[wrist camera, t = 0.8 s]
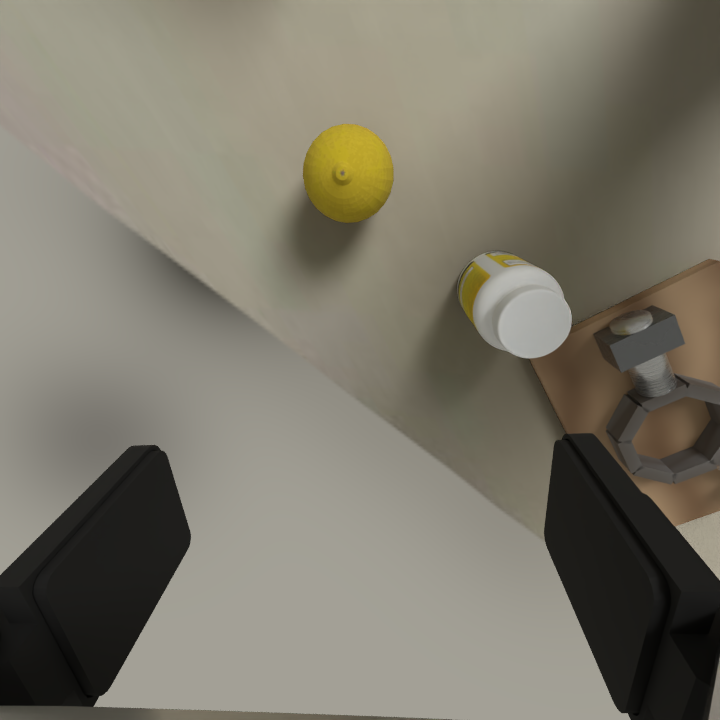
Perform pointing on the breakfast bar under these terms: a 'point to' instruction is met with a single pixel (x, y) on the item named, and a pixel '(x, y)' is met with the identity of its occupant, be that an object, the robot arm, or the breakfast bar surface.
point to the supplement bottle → (514, 304)
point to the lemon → (348, 173)
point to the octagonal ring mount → (651, 414)
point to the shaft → (643, 348)
